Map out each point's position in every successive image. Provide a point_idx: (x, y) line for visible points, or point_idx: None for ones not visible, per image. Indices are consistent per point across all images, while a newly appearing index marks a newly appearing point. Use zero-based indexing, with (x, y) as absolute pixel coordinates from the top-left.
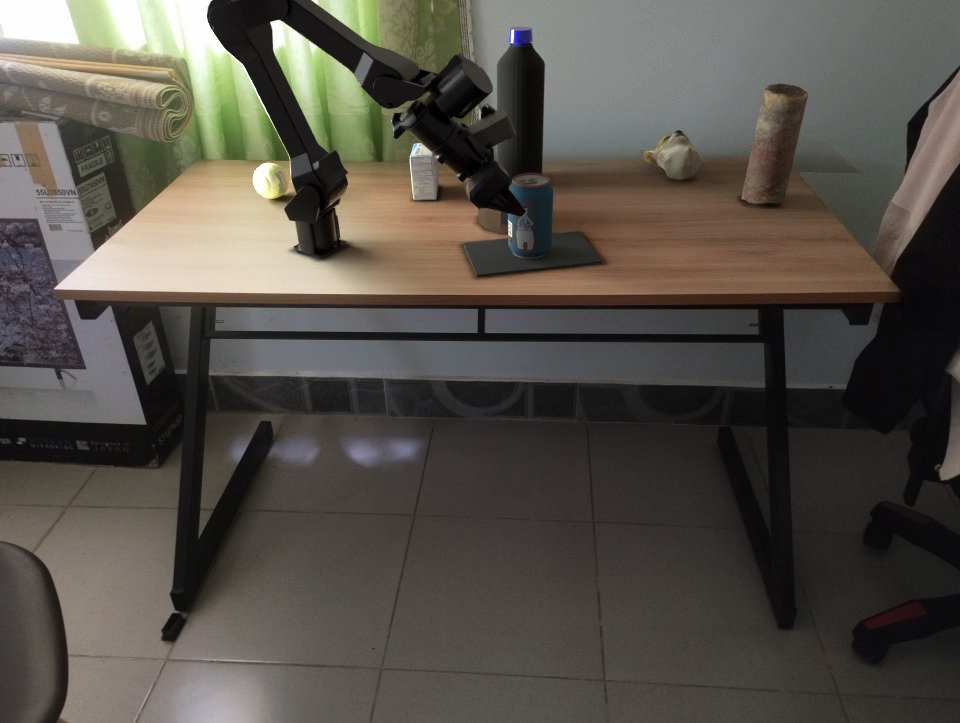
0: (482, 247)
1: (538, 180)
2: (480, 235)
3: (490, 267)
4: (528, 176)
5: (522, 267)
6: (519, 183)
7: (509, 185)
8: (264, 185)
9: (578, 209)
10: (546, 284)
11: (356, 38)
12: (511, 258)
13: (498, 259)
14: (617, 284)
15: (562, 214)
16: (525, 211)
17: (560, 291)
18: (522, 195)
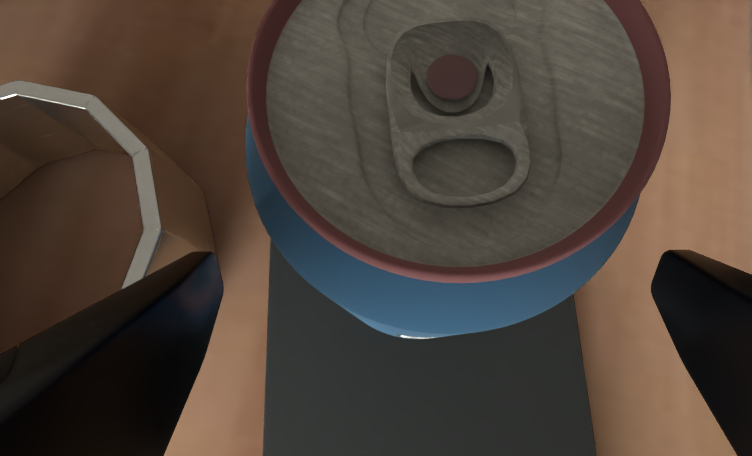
0: (333, 444)
1: (403, 19)
2: (184, 421)
3: (539, 447)
4: (305, 83)
5: (556, 310)
6: (474, 210)
7: (194, 277)
8: None
9: (81, 6)
10: (680, 249)
11: None
12: (465, 337)
13: (466, 395)
14: (689, 32)
15: (102, 65)
16: (691, 252)
17: (738, 213)
18: (624, 231)
